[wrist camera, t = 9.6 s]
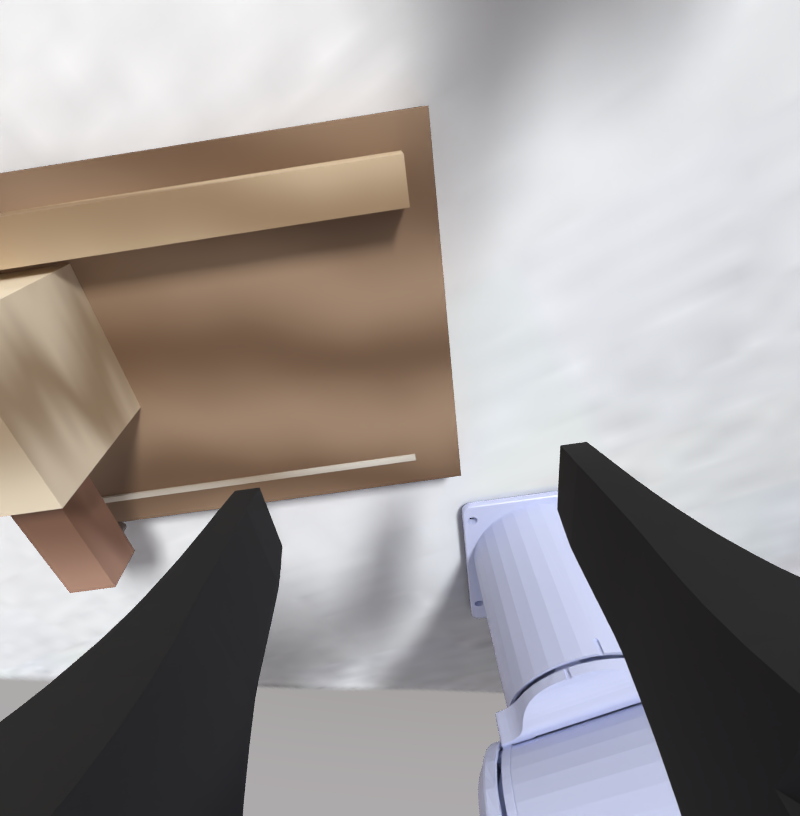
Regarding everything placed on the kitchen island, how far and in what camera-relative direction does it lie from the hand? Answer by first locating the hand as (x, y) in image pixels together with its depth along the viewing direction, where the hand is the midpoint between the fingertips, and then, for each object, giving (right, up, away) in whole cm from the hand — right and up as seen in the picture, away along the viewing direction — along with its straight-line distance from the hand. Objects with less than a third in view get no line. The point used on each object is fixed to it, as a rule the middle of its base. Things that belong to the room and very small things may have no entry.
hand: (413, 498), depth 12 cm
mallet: (-13, +2, +8) cm, 16 cm away
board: (-8, +5, +9) cm, 13 cm away
